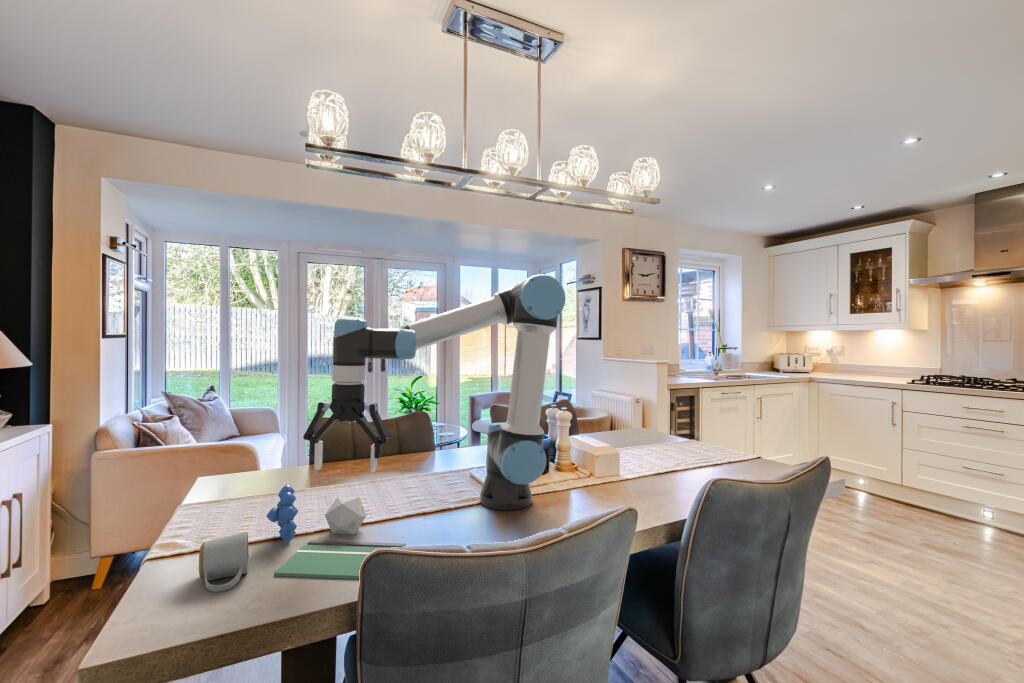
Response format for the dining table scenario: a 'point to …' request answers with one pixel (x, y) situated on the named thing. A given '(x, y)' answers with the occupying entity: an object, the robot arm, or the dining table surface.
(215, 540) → the ceramic mug
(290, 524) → the grapes
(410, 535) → the dining table surface
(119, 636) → the dining table surface
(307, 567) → the felt mat
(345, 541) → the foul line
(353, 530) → the die
